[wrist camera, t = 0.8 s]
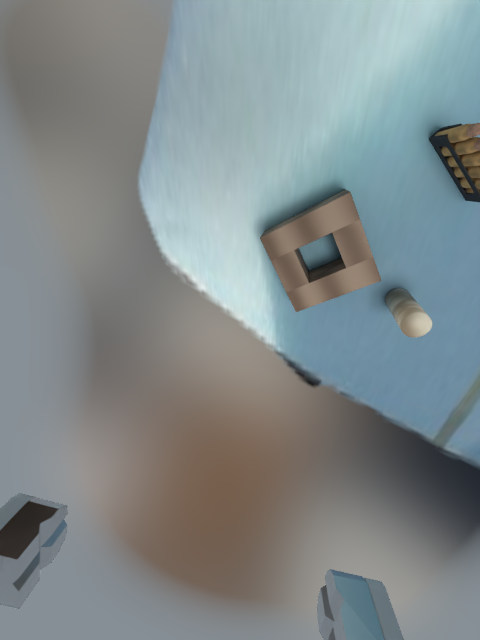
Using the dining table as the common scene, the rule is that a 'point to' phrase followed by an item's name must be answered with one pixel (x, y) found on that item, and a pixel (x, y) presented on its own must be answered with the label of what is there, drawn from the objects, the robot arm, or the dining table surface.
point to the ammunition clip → (461, 156)
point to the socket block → (333, 276)
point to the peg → (408, 313)
